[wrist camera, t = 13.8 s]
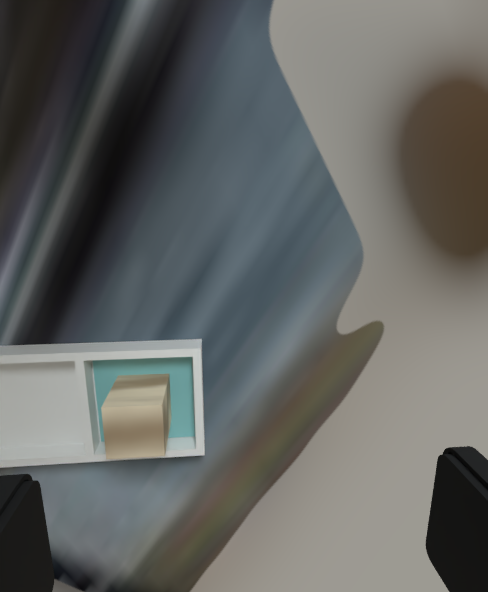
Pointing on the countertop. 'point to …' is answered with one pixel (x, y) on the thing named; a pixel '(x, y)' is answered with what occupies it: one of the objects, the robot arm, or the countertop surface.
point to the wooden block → (137, 416)
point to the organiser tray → (90, 398)
